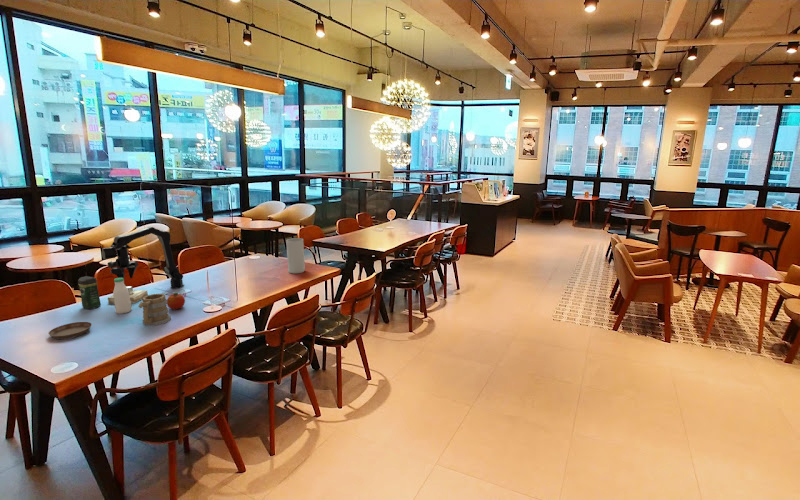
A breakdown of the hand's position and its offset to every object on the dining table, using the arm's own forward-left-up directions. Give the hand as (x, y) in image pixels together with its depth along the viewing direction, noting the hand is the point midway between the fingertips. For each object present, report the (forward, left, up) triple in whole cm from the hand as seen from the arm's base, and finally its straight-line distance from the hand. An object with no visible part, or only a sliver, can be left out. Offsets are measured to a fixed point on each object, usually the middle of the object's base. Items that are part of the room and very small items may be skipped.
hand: (126, 280), depth 268 cm
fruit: (-39, +18, -12) cm, 44 cm away
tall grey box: (0, +2, -12) cm, 12 cm away
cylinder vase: (-92, -60, -12) cm, 110 cm away
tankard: (-38, +41, -12) cm, 57 cm away
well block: (-1, +2, -12) cm, 12 cm away
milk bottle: (-11, +23, -12) cm, 28 cm away
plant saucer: (-3, +53, -12) cm, 55 cm away
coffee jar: (+13, +15, -12) cm, 23 cm away
